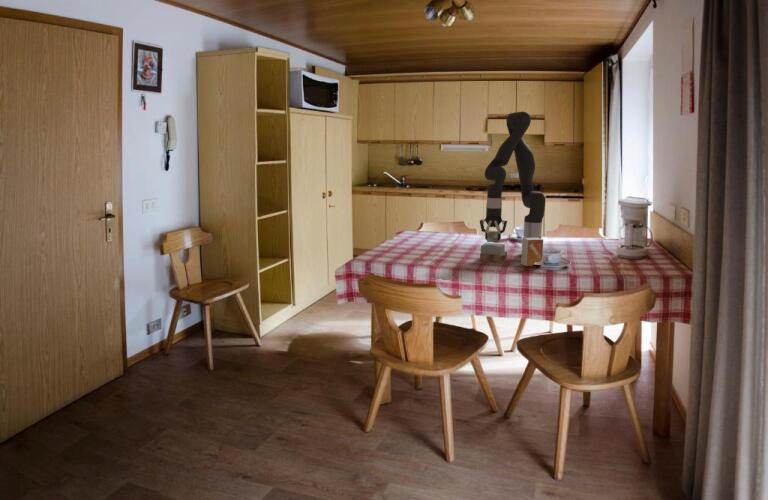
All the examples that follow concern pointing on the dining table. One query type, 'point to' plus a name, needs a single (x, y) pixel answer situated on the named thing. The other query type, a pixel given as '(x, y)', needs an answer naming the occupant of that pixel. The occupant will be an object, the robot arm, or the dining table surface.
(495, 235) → the sage cube
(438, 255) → the dining table surface
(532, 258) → the small box
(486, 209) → the robot arm
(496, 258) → the walnut base block
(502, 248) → the slate top block
